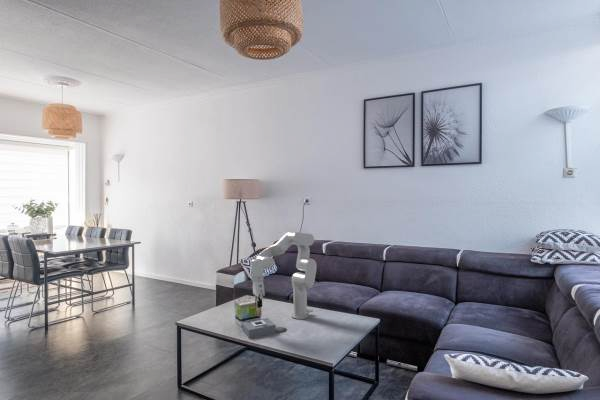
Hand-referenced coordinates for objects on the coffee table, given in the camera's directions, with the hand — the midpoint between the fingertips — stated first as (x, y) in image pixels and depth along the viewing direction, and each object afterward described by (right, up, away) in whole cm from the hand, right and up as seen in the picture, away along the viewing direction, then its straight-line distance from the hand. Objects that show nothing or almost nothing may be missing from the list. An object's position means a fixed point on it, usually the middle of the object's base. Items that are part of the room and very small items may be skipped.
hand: (258, 306), depth 231 cm
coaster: (+14, -16, +1) cm, 21 cm away
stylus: (0, -6, 0) cm, 6 cm away
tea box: (-9, -17, +17) cm, 25 cm away
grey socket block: (0, -17, 0) cm, 16 cm away
